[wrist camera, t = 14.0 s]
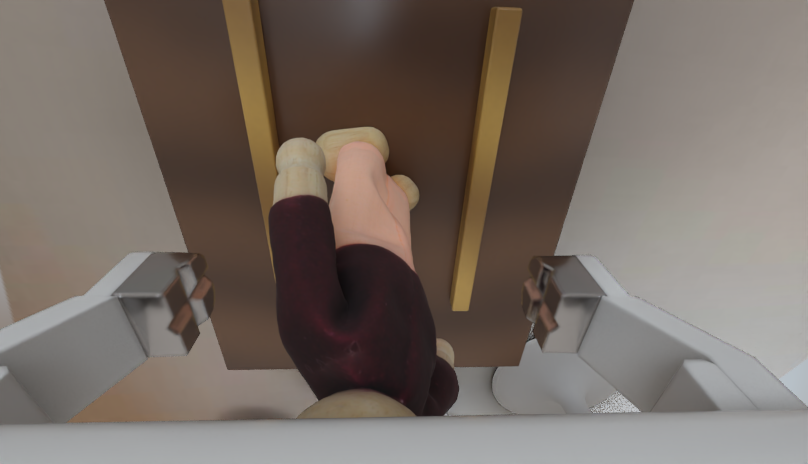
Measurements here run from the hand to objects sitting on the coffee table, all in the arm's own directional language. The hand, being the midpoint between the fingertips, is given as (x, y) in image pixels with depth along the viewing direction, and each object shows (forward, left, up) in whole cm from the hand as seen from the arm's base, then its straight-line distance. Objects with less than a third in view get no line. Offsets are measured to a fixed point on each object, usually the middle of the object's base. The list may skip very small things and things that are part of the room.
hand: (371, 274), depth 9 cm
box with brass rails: (0, 0, -13) cm, 13 cm away
